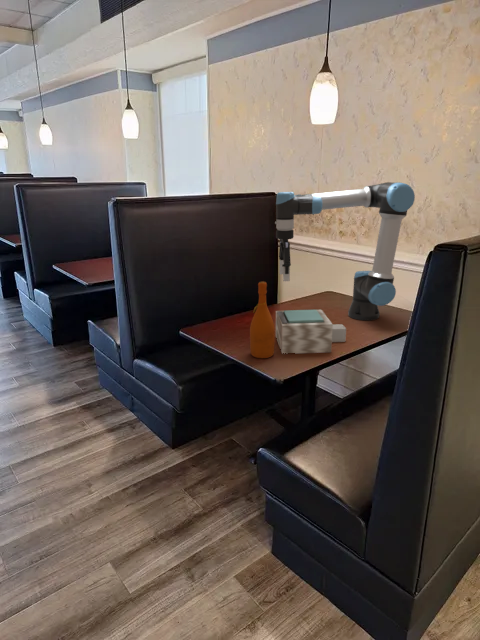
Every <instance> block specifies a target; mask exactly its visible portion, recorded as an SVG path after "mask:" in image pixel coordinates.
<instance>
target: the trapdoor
mask: <svg viewBox="0 0 480 640" xmlns="http://www.w3.org/2000/svg"><path fill="white" fill-rule="evenodd" d="M317 310H318V309H295V310H294V309H292V310H291V309H290V310H289V309H288V310H287V309H286V310H283V311H284V314H285V316H286V318H287V320H288V322H289V323H311V322H324V320H323V318H322V317H321V316H320V314H319V313H318V312H317Z"/></svg>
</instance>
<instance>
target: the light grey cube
mask: <svg viewBox="0 0 480 640" xmlns="http://www.w3.org/2000/svg"><path fill="white" fill-rule="evenodd" d="M332 324H333V323H332ZM346 337H347V327H345V325H343V323H340V324H338V323H337V324H333V329H332V343H344V342H346Z"/></svg>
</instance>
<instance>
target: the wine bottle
mask: <svg viewBox="0 0 480 640" xmlns="http://www.w3.org/2000/svg"><path fill="white" fill-rule="evenodd" d="M257 286H258V287H257V288H258V289H257V290H258V291H257V293H258V303H257V304H256V306H254V308H253V312H252V313H253V317H252V318H251V322H250V326H249V344H250V345H249V346H250V347H249V349H250V350H249V351H250V355H251V356H252V357H254V358H257V359H268V358H271V357H273V356H274V354H275V344H276V343H275V342H276V341H275V340H276V326H275V322H274V320H273V317H272V314H271V312H270V310H269V308H268V304H267V292H268V290H267V287H268V284H267V282H266V281H259V282H258V284H257Z"/></svg>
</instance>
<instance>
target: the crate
mask: <svg viewBox="0 0 480 640" xmlns="http://www.w3.org/2000/svg"><path fill="white" fill-rule="evenodd" d="M316 310H317V312H318V313H319V314H320V316H321V317H322V318H323V320H324V322H311V323H289V322H288V320H287V318H286V316H285V314H284V310H275V339H276V338H277V339H276V341H277V344H278V347H279V350H280V349H281V350H280V352H281V354H282V355H289V354H288V353H295V354H317V353H318V354H319V353H332V345H333V344H332V343H333V342H332V329H333V323H332V321H331V320H330V318H328V317H327V315H326V313H325V312H324V310H322V308H321V309H316ZM283 353H284V354H283ZM285 353H286V354H285Z"/></svg>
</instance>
